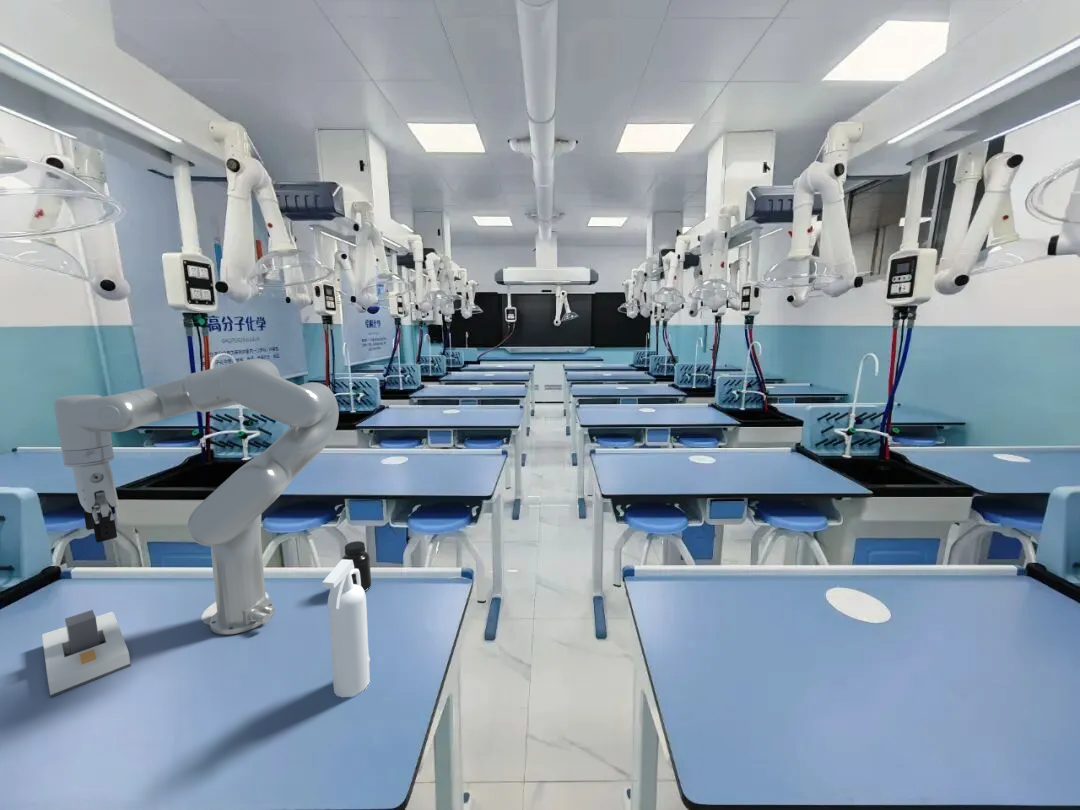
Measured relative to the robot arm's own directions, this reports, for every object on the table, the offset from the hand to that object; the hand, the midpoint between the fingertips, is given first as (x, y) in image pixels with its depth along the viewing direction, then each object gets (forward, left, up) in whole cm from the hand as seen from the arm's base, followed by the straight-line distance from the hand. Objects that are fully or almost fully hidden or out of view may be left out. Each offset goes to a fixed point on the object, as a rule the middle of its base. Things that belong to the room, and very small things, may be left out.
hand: (101, 533), depth 99 cm
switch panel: (-4, +7, -23) cm, 24 cm away
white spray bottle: (-59, -8, -23) cm, 64 cm away
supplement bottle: (-36, -34, -23) cm, 55 cm away
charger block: (-4, +7, -22) cm, 24 cm away
